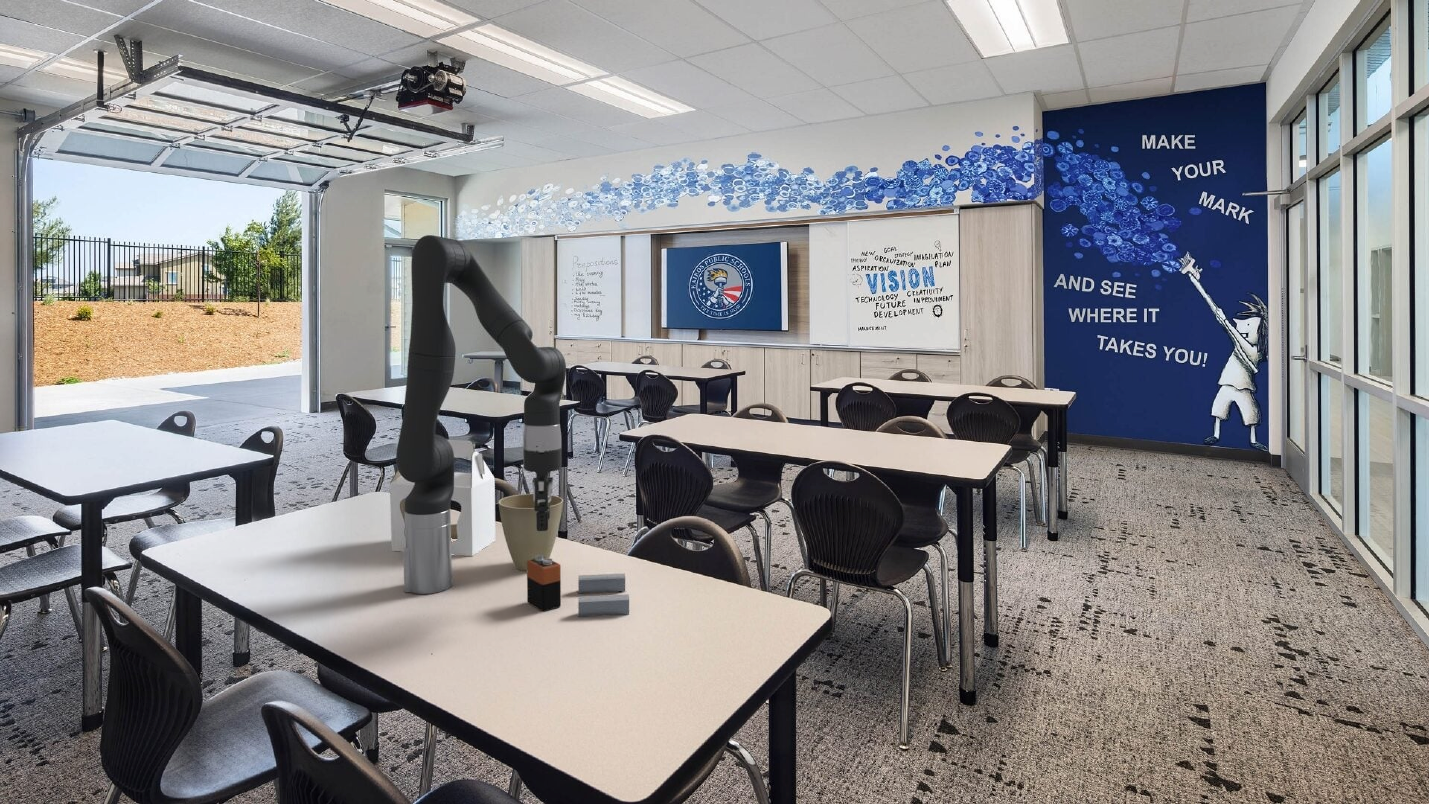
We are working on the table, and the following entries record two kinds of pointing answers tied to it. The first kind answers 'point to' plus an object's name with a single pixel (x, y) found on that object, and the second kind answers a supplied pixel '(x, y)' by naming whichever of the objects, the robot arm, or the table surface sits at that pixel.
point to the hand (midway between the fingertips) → (543, 524)
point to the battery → (543, 583)
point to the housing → (602, 603)
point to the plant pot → (528, 528)
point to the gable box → (468, 491)
